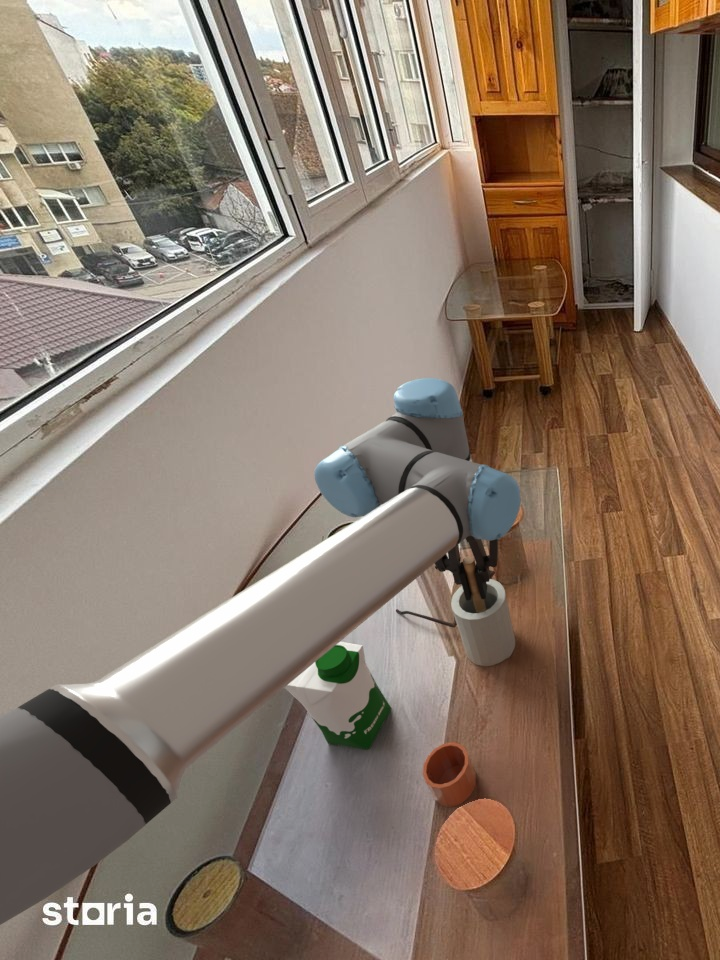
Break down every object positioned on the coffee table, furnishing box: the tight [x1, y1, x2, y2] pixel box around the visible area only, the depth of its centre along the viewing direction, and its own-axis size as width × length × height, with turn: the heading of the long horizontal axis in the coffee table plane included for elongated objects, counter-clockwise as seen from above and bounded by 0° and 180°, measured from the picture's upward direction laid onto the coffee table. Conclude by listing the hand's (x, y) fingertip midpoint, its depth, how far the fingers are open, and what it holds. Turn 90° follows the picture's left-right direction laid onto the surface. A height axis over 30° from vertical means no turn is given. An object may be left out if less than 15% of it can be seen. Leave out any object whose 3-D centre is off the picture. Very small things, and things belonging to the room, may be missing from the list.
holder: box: [422, 741, 477, 808], centre depth 75 cm, size 6×6×7 cm
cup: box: [450, 578, 516, 667], centre depth 92 cm, size 9×9×14 cm
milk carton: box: [283, 641, 392, 751], centre depth 78 cm, size 9×9×20 cm
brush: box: [462, 555, 488, 613], centre depth 88 cm, size 3×3×20 cm
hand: (476, 593), depth 87 cm, fingers closed on brush, 2 cm apart
